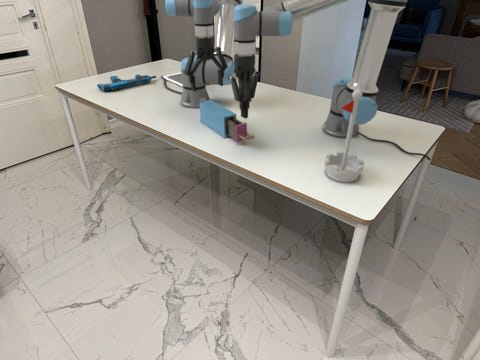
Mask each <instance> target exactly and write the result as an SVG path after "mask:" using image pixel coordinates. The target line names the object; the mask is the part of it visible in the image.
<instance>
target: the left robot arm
mask: <svg viewBox="0 0 480 360" xmlns="http://www.w3.org/2000/svg"><path fill="white" fill-rule="evenodd" d="M164 3H165V6H164V7H165V11H166V14H167V15H168V16H169V17H176V18H177V17H193V19H194V21H193V22H194V35H195V48H196V50H192V49H191V50H190V49H189V56H188V57H185V58H182V60H181V62H180V71H181V72H182V81H183V87H182V92H181V91H177V90H175V89H172V88H170V87H168V86H167V84H166V80H165V78H164V77H163V76H164V75H160V78H161V77H162V78H161V79H162V80H163V85H164V88H165V89H167V90H169V91H171V92H173V93H177V94H180V95H181V97H180V104H181V106H183V107H185V108H189V109H190V108H191V109H192V108H193V109H197V108H200V103H199V102H203V101H207V100H211V98H210V95H209V93H208V90H207V85H206V84H208V85H213V86H215V85H216V86H221V87H223V86H230V85H231V82H230V80H229V78H228V77H229V76H232V75H233V74H234V70H235V65H234V57H233V56H232V55H231V54H232V44H233V38H234V8H235V7H236V6H237V5H242V4H244V0H165V1H164ZM215 16H217V19H216V28H214V17H215ZM214 30H215V31H214ZM214 36H215V37H214ZM181 72H180V73H181Z"/></svg>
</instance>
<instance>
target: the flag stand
mask: <svg viewBox="0 0 480 360" xmlns="http://www.w3.org/2000/svg"><path fill="white" fill-rule="evenodd" d="M352 97H353V98H354V100H353V101H351V102H350V103H348V104H347V105H345V106H344V107H342V108H341V109H343V110H346V111H348V112H350V113H351V117H350V122H349V127H348V133H347V138H345V144H344V149H343V150H340V151H338V150H337V151H336V153H335V154H334V153H333V152H329V153H327V154H326V158H325V159H324V162H323V163H324V168H325V169H326V170H325V173H326V175H327V176H328V178H330V179H332V180H334V181H337V182H341V183H350V182H354V181H356V180H357V179H358V178H359V175H360V174H361V173H362V172H363V171H364V166H365V161H364V159H363V158H358V155H357V154H356V153H352V152H350V154H349V151H350V147H351V142H352V138H353V137H352V132H353V127H354V122H355V117H356V112H357V107H358V101H359V99H360V98H361V97H362V92H361V91H360V90H355V91H354V92H353V94H352Z"/></svg>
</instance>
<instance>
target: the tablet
mask: <svg viewBox="0 0 480 360" xmlns="http://www.w3.org/2000/svg"><path fill="white" fill-rule="evenodd" d="M162 76H163V77H164V78H165V81H167V82H170V83H173V84H175V85H177V86H179V87H181V88H183V81H182V72H177V73H172V74H167V75H162ZM160 78H161V79H163V78H162V77H161V76H160ZM207 85H209V84H206V86H207Z"/></svg>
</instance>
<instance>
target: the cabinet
mask: <svg viewBox="0 0 480 360" xmlns="http://www.w3.org/2000/svg"><path fill="white" fill-rule="evenodd" d="M199 103H200V107H199V116H200V122H201V123H202V124H204V125H205V126H207V127H208V128H210V129H211V130H212V131H214V132H215V133H217V134H218V135H220V136H221V137H223V138H224V139H225V138H229V137H230V136H229V135H228V134H226V118H230V117H234V118H235V119H237V113H235V112H234V111H232V110H230V109H229V108H226V107H225V106H223V105H221V104H219V103H218V102H216V101H214V100H213V99H210V100H207V101H203V102H199Z"/></svg>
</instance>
